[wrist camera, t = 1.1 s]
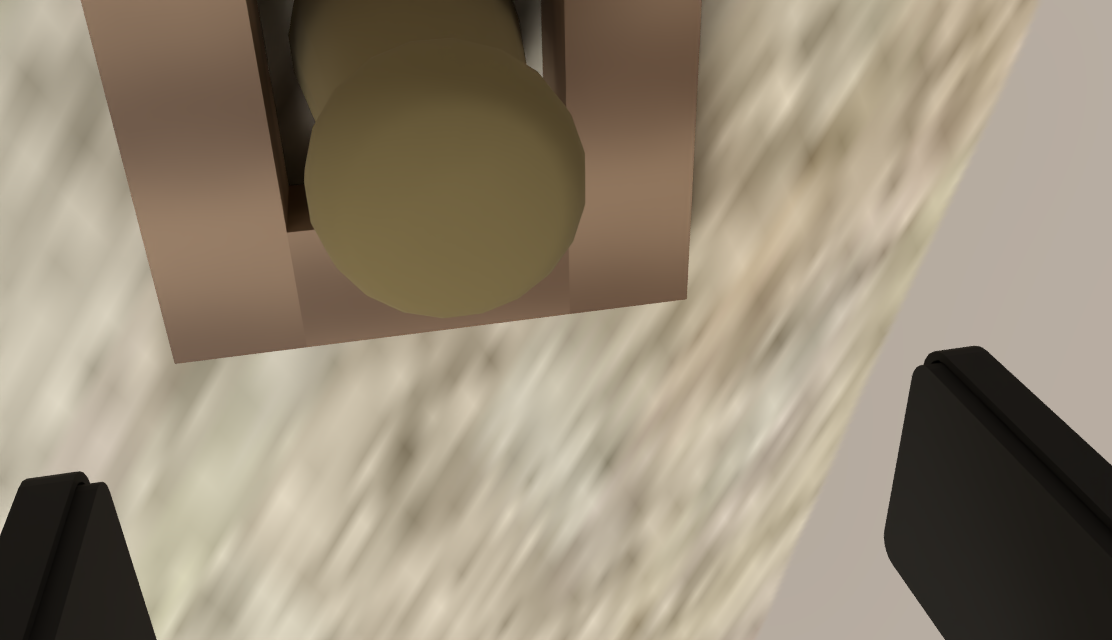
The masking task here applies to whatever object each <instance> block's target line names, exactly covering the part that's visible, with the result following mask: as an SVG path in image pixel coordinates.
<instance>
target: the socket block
mask: <svg viewBox="0 0 1112 640" xmlns="http://www.w3.org/2000/svg"><path fill="white" fill-rule="evenodd" d="M81 3H82V7H83V11H84V15H85V18H86V22H87V26H88V30H89V34H90V38H91V42H92V45H93V49H94V53H95V57H96V61H97V65H98V69H99V72H100V76H101V80H102V84H103V88H104V92H105V96H106V100H107V103H108V107H109V111H110V115H111V119H112V123H113V127H114V130H115V134H116V138H117V142H118V146H119V150H120V154H121V158H122V161H123V165H124V169H125V173H126V177H127V181H128V185H129V188H130V192H131V196H132V200H133V204H134V208H135V212H136V215H137V219H138V223H139V227H140V231H141V235H142V239H143V243H144V246H145V250H146V254H147V258H148V262H149V266H150V270H151V273H152V277H153V281H154V285H155V289H156V293H157V297H158V300H159V304H160V308H161V312H162V316H163V320H164V324H165V328H166V331H167V335H168V339H169V343H170V347H171V351H172V355H173V358H174V362H175V364H177V363H185V362H193V361H201V360H209V359H217V358H225V357H233V356H240V355H248V354H256V353H264V352H272V351H280V350H288V349H296V348H304V347H312V346H320V345H328V344H335V343H343V342H351V341H359V340H367V339H375V338H383V337H391V336H399V335H407V334H415V333H423V332H430V331H438V330H446V329H454V328H462V327H470V326H478V325H486V324H494V323H502V322H510V321H518V320H525V319H533V318H541V317H549V316H557V315H565V314H573V313H581V312H589V311H597V310H605V309H613V308H620V307H628V306H636V305H644V304H652V303H660V302H668V301H676V300H684V299H687V282H688V263H689V243H690V223H691V204H692V184H693V164H694V144H695V125H696V105H697V85H698V65H699V46H700V26H701V6H702V0H541V23H542V57H543V79H544V80H545V81H546V83H547V84H548V85H549V86H550V88H551V89H552V90H553V91H554V93H555V94H556V95H557V96H558V97H559V99H560V100H561V101H562V102H563V104H564V105H565V106H566V108H567V109H568V111H569V112H570V113H571V115H572V118H573V121H574V124H575V126H576V129H577V132H578V135H579V138H580V140H581V143H582V146H583V149H584V152H585V207H584V210H583V213H582V216H581V219H580V222H579V225H578V228H577V232H576V235H575V238H574V241H573V243H572V244H571V245H570V247H569V248H568V250H567V251H566V252H565V254H564V255H563V257H562V258H561V259H560V261H559V262H558V264H557V265H556V266H555V268H554V269H553V271H552V272H551V273H550V274H549V275H548V276H547V277H545V278H544V279H543V280H542V281H540V282H539V283H538V284H536V285H535V286H534V287H533V288H531V289H530V290H529V291H528V292H526V293H525V294H524V295H522V296H521V297H520V298H518V299H516V300H514V301H512V302H509V303H507V304H504V305H502V306H500V307H497V308H495V309H492V310H490V311H488V312H485V313H482V314H474V315H466V316H458V317H450V318H437V317H431V316H424V315H417V314H411V313H404V312H401V311H399V310H397V309H395V308H392V307H390V306H388V305H386V304H384V303H382V302H379V301H377V300H375V299H373V298H371V297H369V296H367V295H365V294H364V293H363V292H362V291H361V290H360V289H359V288H358V287H357V286H356V285H355V284H353V283H352V282H351V281H350V280H349V279H348V278H347V277H346V276H345V275H344V274H342V273H341V272H340V271H339V270H338V269H337V268H336V266H335V265H334V263H333V262H332V260H331V259H330V257H329V255H328V253H327V251H326V249H325V248H324V246H323V244H322V242H321V240H320V239H319V237H318V235H317V233H316V231H315V230H314V228H313V226H312V224H311V221H310V215H309V209H308V203H307V197H306V191H305V184H301V185H291V186H289V184H288V178H287V172H286V167H285V161H284V155H283V149H282V143H281V137H280V132H279V126H278V120H277V114H276V108H275V102H274V96H273V91H272V85H271V79H270V73H269V67H268V61H267V55H266V50H265V44H264V38H263V32H262V26H261V20H260V15H259V9H258V3H257V0H81Z"/></svg>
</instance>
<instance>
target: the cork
mask: <svg viewBox="0 0 1112 640" xmlns="http://www.w3.org/2000/svg"><path fill="white" fill-rule="evenodd" d="M288 38H289V44H290V50H291V56H292V63H293V69H294V73H295V76H296V78H297V80H298V83H299V85H300V87H301V90H302V92H303V94H304V97H305V99H306V101H307V103H308V106H309V108H310V110H311V113H312V115H313V117H314V120H315V124H314V126H313V127H312V132H311V138H310V143H309V148H308V154H307V159H306V165H305V172H304V184H305V191H306V197H307V203H308V209H309V215H310V221H311V224H312V226H313V228H314V230H315V231H316V233H317V235H318V237H319V239H320V240H321V242H322V244H323V246H324V248H325V249H326V251H327V253H328V255H329V257H330V259H331V260H332V262H333V263H334V265H335V266H336V268H337V269H338V270H339V271H340V272H341V273H342V274H344V275H345V276H346V277H347V278H348V279H349V280H350V281H351V282H352V283H353V284H355V285H356V286H357V287H358V288H359V289H360V290H361V291H362V292H363V293H364V294H365V295H367V296H369V297H371V298H373V299H375V300H377V301H379V302H382V303H384V304H386V305H388V306H390V307H392V308H395V309H397V310H399V311H401V312H404V313H411V314H417V315H424V316H431V317H437V318H450V317H458V316H466V315H474V314H482V313H485V312H488V311H490V310H492V309H495V308H497V307H500V306H502V305H504V304H507V303H509V302H512V301H514V300H516V299H518V298H520V297H521V296H522V295H524V294H525V293H526V292H528V291H529V290H530V289H531V288H533V287H534V286H535V285H536V284H538V283H539V282H540V281H542V280H543V279H544V278H545V277H547V276H548V275H549V274H550V273H551V272H552V271H553V269H554V268H555V266H556V265H557V264H558V262H559V261H560V259H561V258H562V257H563V255H564V254H565V252H566V251H567V250H568V248H569V247H570V245H571V244H572V243H573V241H574V238H575V235H576V232H577V228H578V225H579V222H580V219H581V216H582V213H583V210H584V207H585V152H584V149H583V146H582V143H581V140H580V138H579V135H578V132H577V129H576V126H575V124H574V121H573V118H572V115H571V113H570V112H569V111H568V109H567V108H566V106H565V105H564V104H563V102H562V101H561V100H560V99H559V97H558V96H557V95H556V94H555V93H554V91H553V90H552V89H551V88H550V86H549V85H548V84H547V83H546V81H545V80H544V79H543V78H542V77H541V75H540V74H539V73H538V72H537V71H536V70H534V69H532V68H531V67H529V66H528V65H526V60H525V54H524V48H523V42H522V36H521V30H520V25H519V19H518V15H517V13H516V10H515V7H514V5H513V2H512V0H294V4H293V10H292V16H291V22H290V28H289V34H288Z"/></svg>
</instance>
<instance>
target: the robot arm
mask: <svg viewBox="0 0 1112 640" xmlns="http://www.w3.org/2000/svg"><path fill="white" fill-rule="evenodd" d="M884 541H885V547H886V552H887V554H888V557H889V559H890V561H891V563H892V564H893V566H894V567H895V569H896V570H897V571H898V573H899V574H900V576H901V577H902V579H903V580H904V581H905V583H906V584H907V586H908V587H909V589H910V590H911V591H912V593H913V594H914V596H915V597H916V599H917V600H918V602H919V603H920V604H921V606H922V607H923V609H924V610H925V611H926V613H927V615H928V616H929V617H930V619H931V620H932V621H933V623H934V625H935V626H936V627H937V629H938V630H939V632H940V633H941V635H942V636H943V637H944V639H945V640H1112V465H1111V464H1109V463H1108V462H1107V461H1106V460H1105V459H1104V458H1103V457H1102V456H1101V455H1100V454H1099V453H1097V452H1096V451H1095V450H1094V449H1093V448H1092V447H1091V446H1090V445H1089V444H1087V442H1086V441H1084V440H1083V439H1082V438H1081V437H1080V436H1079V435H1078V434H1077V433H1076V432H1075V431H1074V430H1072V429H1071V428H1070V427H1069V426H1068V425H1067V424H1066V423H1065V422H1064V421H1063V420H1062V419H1060V418H1059V417H1058V416H1057V415H1056V414H1055V413H1054V412H1053V411H1052V410H1051V409H1050V408H1048V407H1047V406H1046V405H1045V404H1044V403H1043V402H1042V401H1041V400H1040V399H1039V398H1038V397H1037V396H1035V395H1034V394H1033V393H1032V392H1031V391H1030V390H1029V389H1028V388H1027V387H1026V386H1025V385H1024V384H1022V383H1021V382H1020V381H1019V380H1018V379H1017V378H1016V377H1015V376H1014V375H1012V373H1010V372H1009V371H1008V370H1007V369H1006V368H1005V367H1004V366H1003V365H1002V364H1001V363H1000V362H998V361H997V360H996V359H995V358H994V357H993V356H992V355H991V354H989V352H988V351H986V350H985V349H983V348H982V347H979V346H969V347H963V348H955V349H949V350H942V351H935V352H932V353H930V354H929V355H928V356H927V358H926V359H925V362H924V365H920V366H918V367H917V368H916V369H915V370H914V372H913V376H912V380H911V385H910V391H909V397H908V403H907V408H906V414H905V419H904V424H903V430H902V435H901V441H900V446H899V452H898V458H897V463H896V469H895V474H894V480H893V485H892V491H891V497H890V502H889V508H888V513H887V519H886V524H885V530H884ZM0 640H157V639H156V636H155V633H154V630H153V627H152V624H151V620H150V617H149V614H148V611H147V608H146V605H145V601H144V598H143V595H142V592H141V589H140V586H139V582H138V579H137V576H136V573H135V570H134V567H133V563H132V560H131V557H130V554H129V551H128V548H127V544H126V541H125V538H124V535H123V532H122V529H121V525H120V522H119V519H118V516H117V513H116V510H115V506H114V503H113V500H112V497H111V494H110V491H109V489H108V486H107V485H106V484H105V483H104V482H98V483H91V484H90V482H89V480H88V478H87V476H86V475H85V474H84V473H83V472H80V471H79V472H71V473H64V474H57V475H50V476H43V477H36V478H29V479H26V480H24V481H22V483H21V485H20V486H19V488H18V491H17V494H16V496H15V499H14V501H13V504H12V506H11V509H10V512H9V514H8V517H7V519H6V522H5V524H4V527H3V530H2V532H1V535H0Z"/></svg>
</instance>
